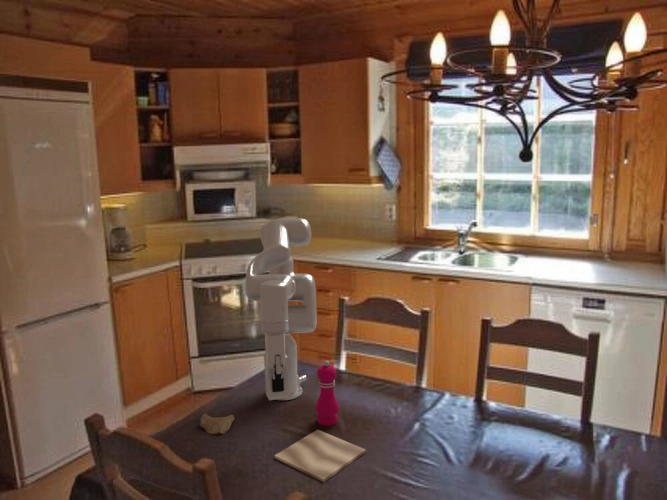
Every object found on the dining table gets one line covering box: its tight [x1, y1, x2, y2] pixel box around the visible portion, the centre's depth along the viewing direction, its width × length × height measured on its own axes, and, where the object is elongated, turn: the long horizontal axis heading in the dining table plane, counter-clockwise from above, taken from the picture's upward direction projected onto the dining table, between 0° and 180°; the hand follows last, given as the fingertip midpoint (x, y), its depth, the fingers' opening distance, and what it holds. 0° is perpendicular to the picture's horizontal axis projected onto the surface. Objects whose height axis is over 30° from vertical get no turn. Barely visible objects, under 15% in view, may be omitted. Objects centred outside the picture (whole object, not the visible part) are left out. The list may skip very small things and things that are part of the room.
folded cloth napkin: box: [274, 429, 367, 483], centre depth 153 cm, size 18×18×1 cm
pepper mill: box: [315, 360, 340, 427], centre depth 170 cm, size 7×7×20 cm
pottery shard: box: [199, 413, 236, 435], centre depth 170 cm, size 11×4×10 cm
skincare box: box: [263, 354, 290, 401], centre depth 154 cm, size 6×4×12 cm
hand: (277, 386), depth 154 cm, fingers closed on skincare box, 4 cm apart
